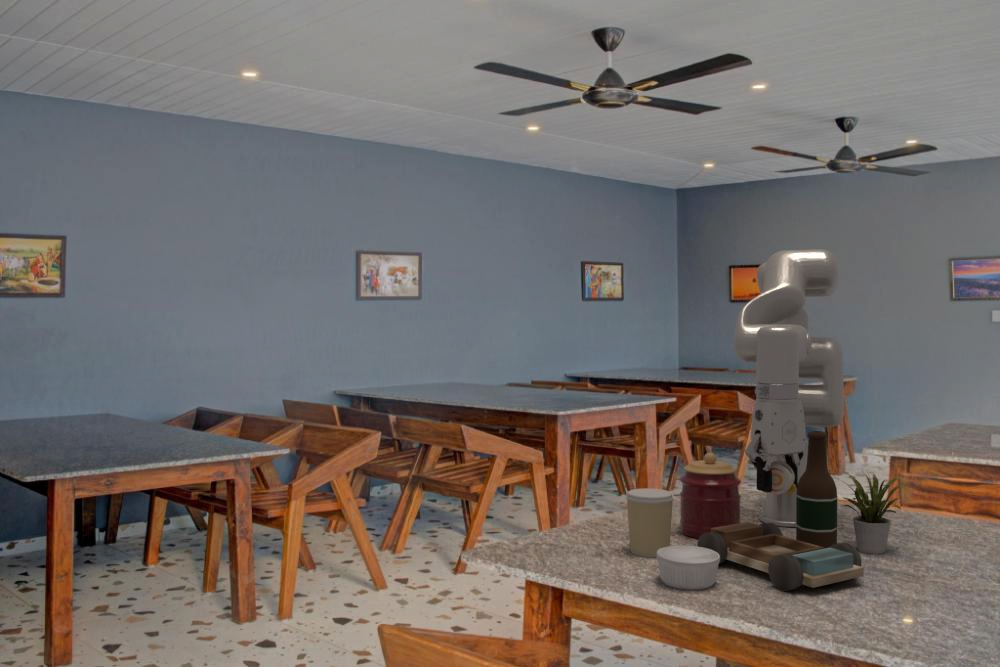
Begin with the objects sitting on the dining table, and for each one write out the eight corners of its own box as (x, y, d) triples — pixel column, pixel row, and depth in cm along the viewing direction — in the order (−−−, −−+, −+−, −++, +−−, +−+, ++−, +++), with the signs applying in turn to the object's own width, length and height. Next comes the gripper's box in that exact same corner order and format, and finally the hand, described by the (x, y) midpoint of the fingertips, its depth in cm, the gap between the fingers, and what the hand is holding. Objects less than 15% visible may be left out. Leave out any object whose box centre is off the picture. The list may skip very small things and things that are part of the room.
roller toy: (763, 489, 168) (763, 458, 168) (797, 492, 165) (797, 461, 165) (758, 493, 164) (758, 462, 164) (793, 496, 161) (793, 465, 161)
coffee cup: (678, 548, 180) (678, 490, 180) (666, 560, 171) (666, 499, 171) (633, 544, 184) (633, 486, 184) (620, 555, 175) (620, 495, 175)
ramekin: (708, 596, 150) (708, 565, 150) (646, 585, 156) (646, 556, 156) (728, 579, 159) (728, 550, 159) (669, 570, 165) (669, 542, 165)
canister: (719, 524, 201) (719, 447, 200) (753, 538, 188) (753, 455, 188) (668, 529, 197) (668, 450, 196) (699, 543, 184) (699, 459, 184)
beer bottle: (836, 546, 181) (836, 429, 181) (837, 556, 174) (838, 434, 173) (796, 543, 184) (796, 428, 183) (796, 553, 176) (796, 433, 176)
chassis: (690, 558, 172) (690, 528, 172) (753, 547, 181) (753, 517, 181) (804, 598, 148) (804, 562, 148) (871, 582, 157) (871, 549, 157)
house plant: (927, 550, 178) (928, 469, 178) (903, 564, 168) (904, 479, 167) (856, 538, 188) (856, 461, 187) (829, 551, 178) (830, 470, 177)
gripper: (759, 396, 156) (759, 498, 157) (825, 391, 165) (825, 487, 165) (728, 393, 163) (728, 490, 163) (793, 388, 171) (793, 481, 172)
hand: (777, 488), depth 164 cm, fingers closed on roller toy, 6 cm apart
